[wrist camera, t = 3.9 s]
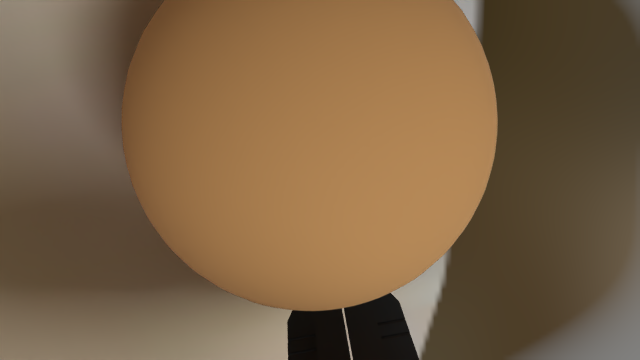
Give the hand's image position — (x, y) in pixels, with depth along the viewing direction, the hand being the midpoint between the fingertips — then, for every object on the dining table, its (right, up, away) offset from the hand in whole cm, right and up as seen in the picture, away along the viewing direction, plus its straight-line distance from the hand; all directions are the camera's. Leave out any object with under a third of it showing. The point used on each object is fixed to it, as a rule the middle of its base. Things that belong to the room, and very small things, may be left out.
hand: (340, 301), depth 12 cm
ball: (-1, +4, -4) cm, 6 cm away
